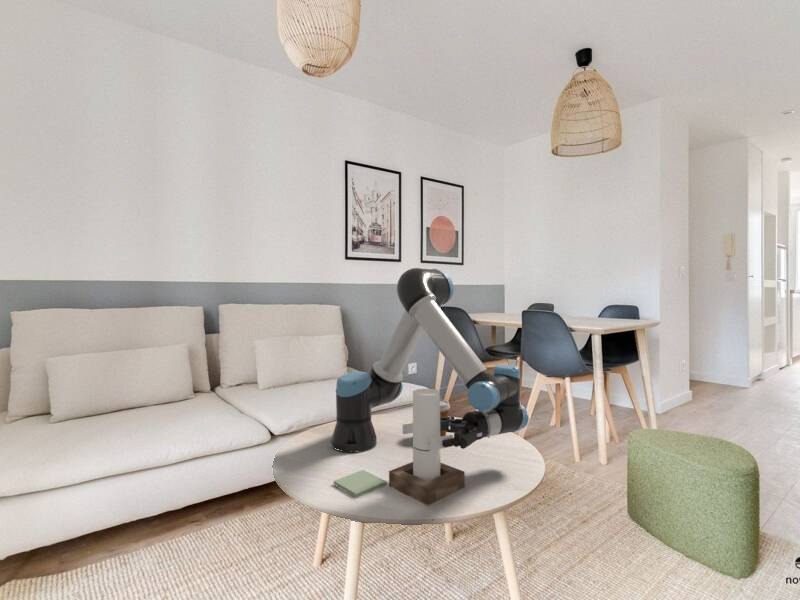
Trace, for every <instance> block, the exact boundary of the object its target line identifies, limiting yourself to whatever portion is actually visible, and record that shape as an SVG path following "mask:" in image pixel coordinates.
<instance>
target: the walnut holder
mask: <svg viewBox="0 0 800 600" xmlns="http://www.w3.org/2000/svg"><path fill="white" fill-rule="evenodd" d="M465 474H466V473H465V471H463V470H461V469H459V468H455V467H453V466H451V465H448V464H445V463H443V462H441V461H440V476H439V477H437V478H435V479H433V480H430V481H428V482H427V481H425V480H422V479H420V478H418V477H416V476H413V461H411V462H408V463H406V464H404V465H401V466H398V467H396V468H393V469H391V470H389V471H388V481H389V482H388V487H390V488H392V489H393V490H395V491H398V492H400V493H402V494H404V495H405V496H408V497H410V498H412V499H414V500H417V501H418V502H419V503H421V504H424V505H426V506H430V505H432V504H434V503H436V502H438V501H440V500H442V499H444V498H446V497H448V496H450V495H451V494H454V493H455V492H457V491H459V490H461V489H463V488H465V485H466V483H465V481H466V480H465V479H466V477H465V476H466V475H465Z"/></svg>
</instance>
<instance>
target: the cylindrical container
mask: <svg viewBox="0 0 800 600" xmlns="http://www.w3.org/2000/svg"><path fill="white" fill-rule="evenodd" d="M440 400H441V391H440V390H437V389H433V388H417V389H414V390H412V422H413V433H412V462H413V476H416V477H418V478H420V479H422V480H425V481H427V482H428V481H430V480H433V479H435V478H437V477H439V476H440V462H441V449H438V450H433V451H430V450H429V439H432V438H437V437H440Z"/></svg>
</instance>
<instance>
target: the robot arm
mask: <svg viewBox="0 0 800 600" xmlns="http://www.w3.org/2000/svg"><path fill="white" fill-rule="evenodd" d="M454 288H455V287H454V284H453V280H452V278H451V276H450V275H449V274H448V273H446V272H445V271H443V270H440V269H436V268H431V269H430V268H421V267H419V268H418V267H414V268H411V269H410V268H409V269H408V270H406V271H404V272H403V273H402V274H401V276H399V279H398V281H397V285H396V292H397V293H396V294H397V296H398V299H399V302H400V303H401V305H402V307H403V309H404V311H403V314H402V316H401V317H400V320H399V321H398V324H397V326H396V328H395V330H394V331H393V334H392V336H391V338H390V340H389V342H388V344H387V346H386V347H385V350H384V352H383V354H382V355H381V358H380V360H379V361H375V362H374V363H373V364H372V366H371V369H370V371H369V372H367V371H354V372H348V373H344V374H342V375H341V376H339V377H338V378H337V380H336V387H335V398H336V399H335V400H336V401H335V403H336V422H335V423H336V424H335V425H334V429H333V432H332V436H331V438H330V439H331V440H330V441H331V442H330V445H331V444H332V446H333V447H334V448H336V449H339V450H342V451H352V452H351V453H357V452H356V451H361V452H365V450H366V451H369V450H371V449H373V448H375V447H376V445H377V443H378V441H377V439H378V438H377V437H378V436H377V434H376V431H375V428H374V425H373V422H372V409H374V408H376V407H380V406H382V405H386V404H390V403H391V402H393V401H395V400H397V399H398V398H399V397H400V395H401V393H402V391H403V387H404V384H403V379H404V375H403V372H402V371H403V370H404V368H405V366H406V364H407V362H408V360H409V358H410V357H411V355H412V352H413V350H414V349H415V347H416V344H417V342H418V341H419V339H420V337H421V335H422V333H423V332H425V333H426V335H428V337H429V338H430V340H431V341H432V342H433V343H434V345H435V346H436V347H437V349H438V351H439V352H440V353H441V354H442V356H443V357H444V358H445V360H446V361H447V362H448V364H449V365H450V367H451V368H452V369H453V371H454V373H456V374H457V376H458V378H460V380H461V382H462V383H463V384H464V385H465V387H466V388H467V400H468V403H469V404H470V406H471V407H472V408H474V409H475V410H473V411H468V412H466V413H465V414H464V415H463V417H462V418H455V416H453V415H451V416H448V417H440V430H445V431H446V433H451V434H448V435H447V434H446V436H442V437H437V438H432V439H429V450H430V451H433V450H438V449H440V450H442V449H446V448H451V447H456V448H458V447H460V449H461V450H463V449H466V448H468V447H469V446H471V445H472V444H473V443H475V442H476V441H479V440H481V439H484V438H488V439H489V438H491V437H492V436H498V435H502V434H508V433H515V432H517V431H520V430H523V429H525V428H526V427H527V425H528V423H529V420H530V418H529V414H528V411H527V408H526V407H525V406H524V405H523V404H521V380H522V379H521V371H520V368H519V367H518V366H517V365H512V364H497V365H495V366H494V367H493V372H492V373H491V372H490V371H489V370H488V368H487V367H486V366H485V364H484V363H483V362H482V361H481V359H480V358H479V356H477V354H476V353H475V352H474V350H473V349H472V347H470V345H469V344H468V343H467V341H466V340H465V338H464V337H463V336H462V335H461V333H460V332H459V330H458V329H457V328H456V327H455V325H454V324H453V323H452V322H451V320H450V318H448V316H447V315H446V314H445V312H444V311H443V310H442V309H441V306H442V305H445V304H447V303H449V301H450V300H451V299H452V297H453V296H454ZM452 433H453V434H452ZM408 434H413V421H412V422H411V421H410V422H406V423H402V435H408ZM332 446H331V447H332ZM333 447H332V448H333ZM334 448H333V449H334ZM342 451H341V452H342Z"/></svg>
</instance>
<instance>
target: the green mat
mask: <svg viewBox="0 0 800 600" xmlns="http://www.w3.org/2000/svg"><path fill="white" fill-rule="evenodd" d="M334 484H335V485H337V486H338V487H337V486H336V487H337V488H339V487H340V488H341V490H342V489H343V490H342V491H344V490H345V491H344V492H346V491H347V492H348V494H349V495H351V496H353V497H354V496H355V498H360V497H362V496H364V495H366V494H369V493H371V492H374V491H376V490H378V489H381V488H383V487H385V486H387V480H384V479H383V478H381V477H379V476H376V475H374V474H372V473H370V472H368V471H367V470H364V469H362V470H359V471H356V472H354V473H351V474H348V475H345V476H343V477H340V478H338V479H335V480H333V485H334ZM335 485H334V486H335ZM340 488H339V489H340ZM347 492H346V493H347ZM359 496H360V497H359Z"/></svg>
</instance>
